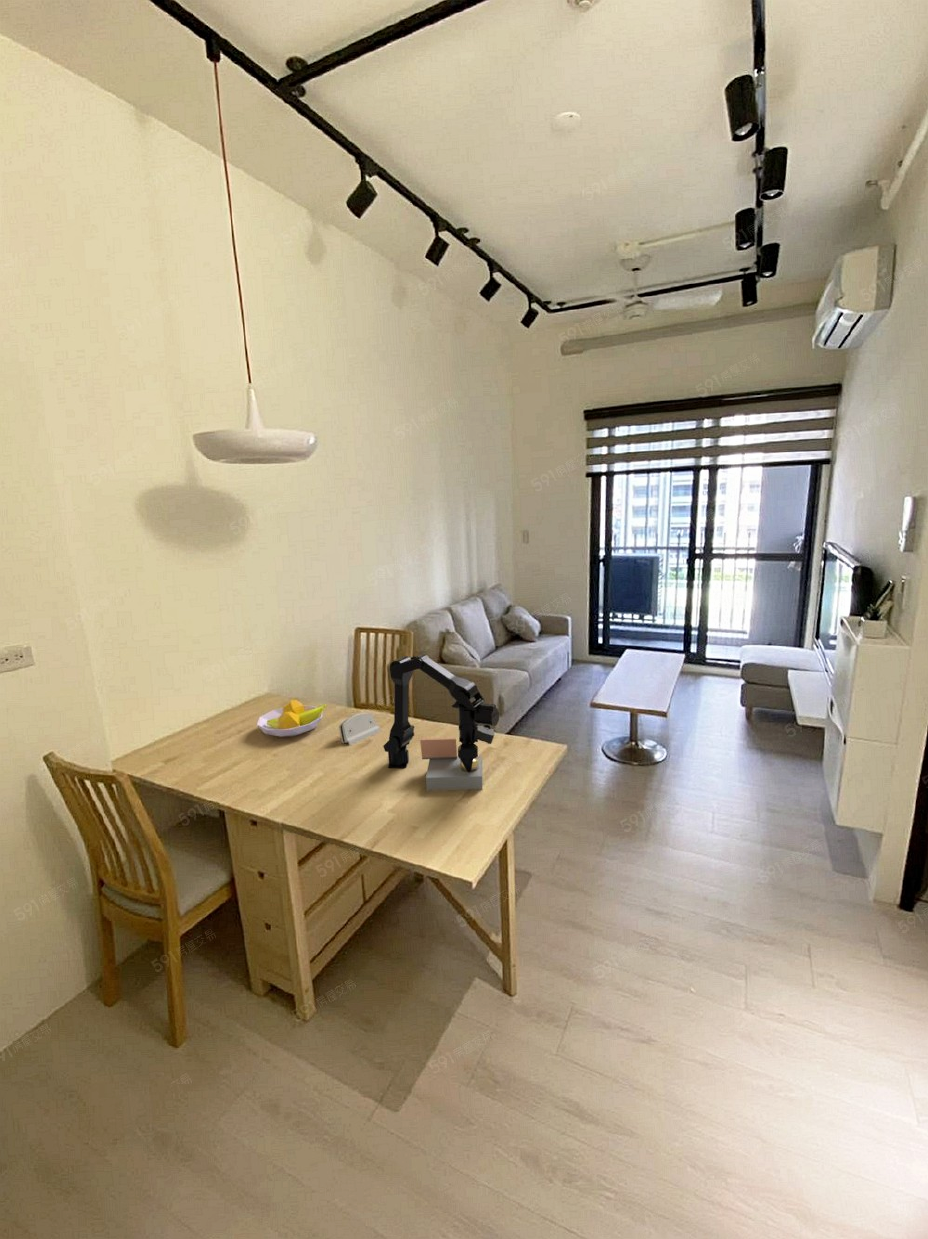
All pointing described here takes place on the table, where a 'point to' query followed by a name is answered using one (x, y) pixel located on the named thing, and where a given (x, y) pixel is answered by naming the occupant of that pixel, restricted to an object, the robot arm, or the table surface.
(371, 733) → the hinge
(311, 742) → the table surface
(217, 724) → the table surface
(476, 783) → the hitch block
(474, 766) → the tan shiny rounded piece
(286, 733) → the fruit bowl
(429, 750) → the latch flap
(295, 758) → the table surface
